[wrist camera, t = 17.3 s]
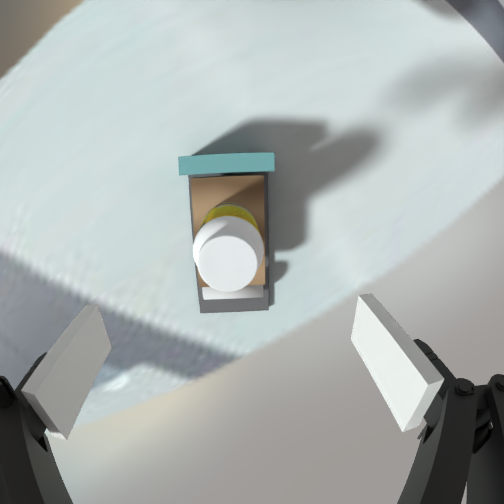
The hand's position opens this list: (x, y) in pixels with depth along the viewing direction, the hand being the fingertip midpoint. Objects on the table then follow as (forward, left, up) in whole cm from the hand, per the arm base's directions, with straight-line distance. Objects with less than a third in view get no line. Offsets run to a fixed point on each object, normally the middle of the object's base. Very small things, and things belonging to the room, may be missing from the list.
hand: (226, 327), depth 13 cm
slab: (+1, 0, -22) cm, 22 cm away
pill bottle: (0, 0, -20) cm, 20 cm away
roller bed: (+2, +2, -25) cm, 25 cm away
